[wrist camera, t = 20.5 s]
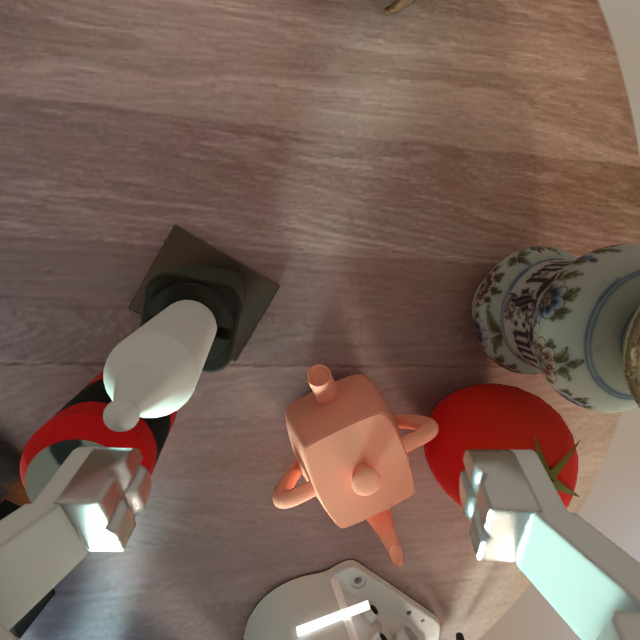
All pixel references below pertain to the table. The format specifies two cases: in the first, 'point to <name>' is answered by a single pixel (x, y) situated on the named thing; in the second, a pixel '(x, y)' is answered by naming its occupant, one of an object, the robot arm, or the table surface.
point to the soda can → (86, 437)
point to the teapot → (351, 453)
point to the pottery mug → (397, 6)
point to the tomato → (500, 434)
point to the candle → (173, 343)
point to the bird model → (11, 476)
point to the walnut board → (191, 250)
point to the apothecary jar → (567, 321)
